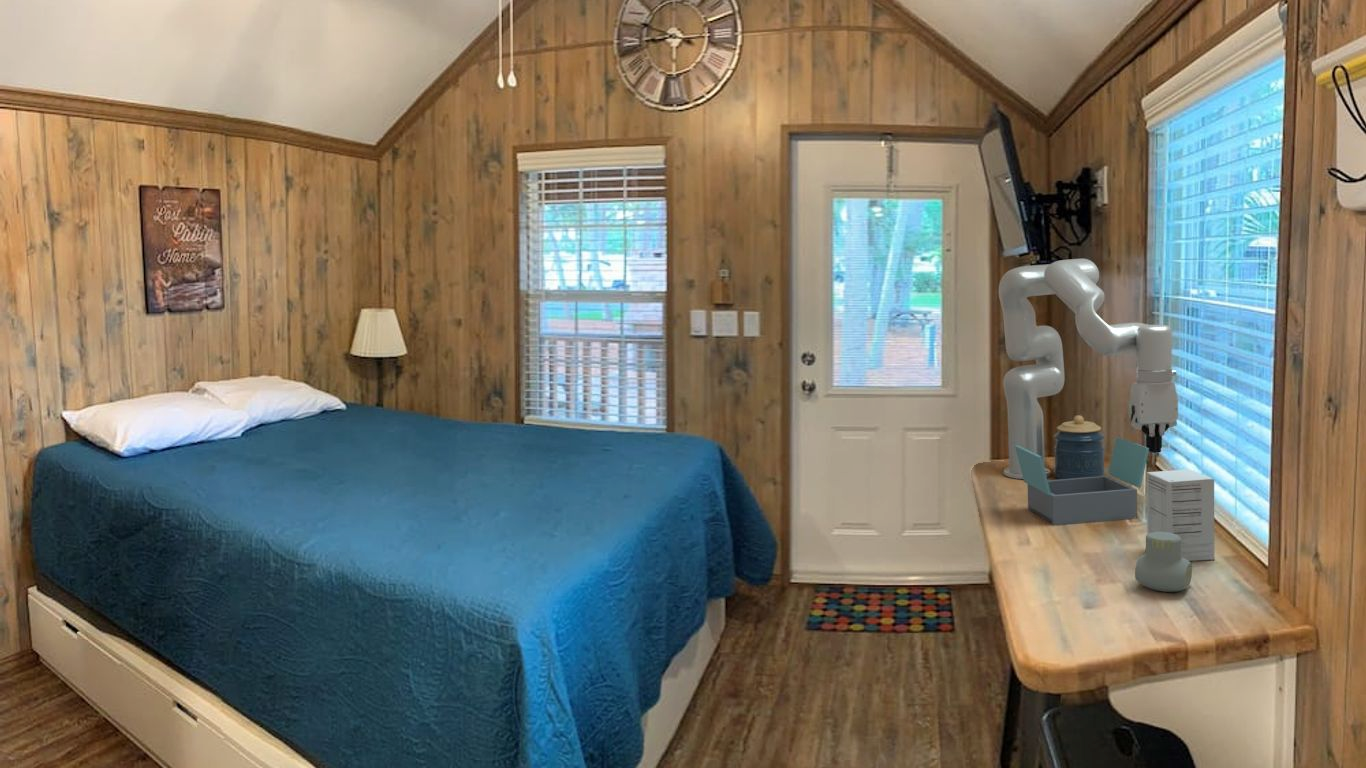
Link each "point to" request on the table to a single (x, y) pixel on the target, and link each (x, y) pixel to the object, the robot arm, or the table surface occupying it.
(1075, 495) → the box
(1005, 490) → the table surface
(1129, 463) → the flap
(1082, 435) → the canister
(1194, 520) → the supplement box
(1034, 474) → the flap
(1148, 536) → the air freshener
